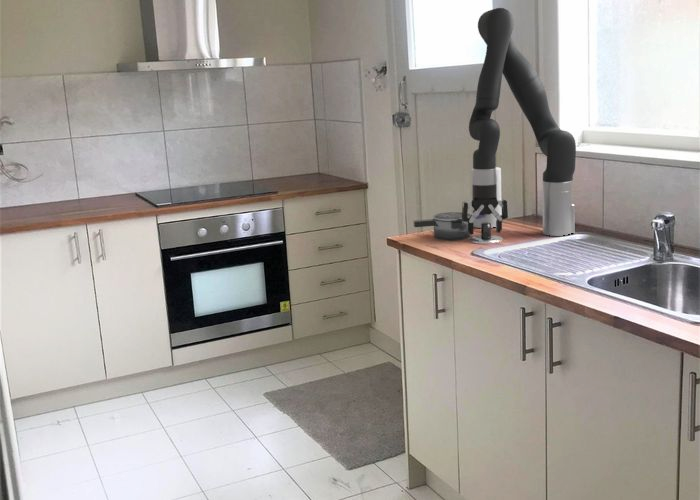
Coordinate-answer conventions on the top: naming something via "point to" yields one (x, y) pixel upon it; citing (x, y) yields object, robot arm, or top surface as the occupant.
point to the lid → (485, 235)
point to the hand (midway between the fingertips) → (484, 233)
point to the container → (491, 217)
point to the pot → (447, 226)
